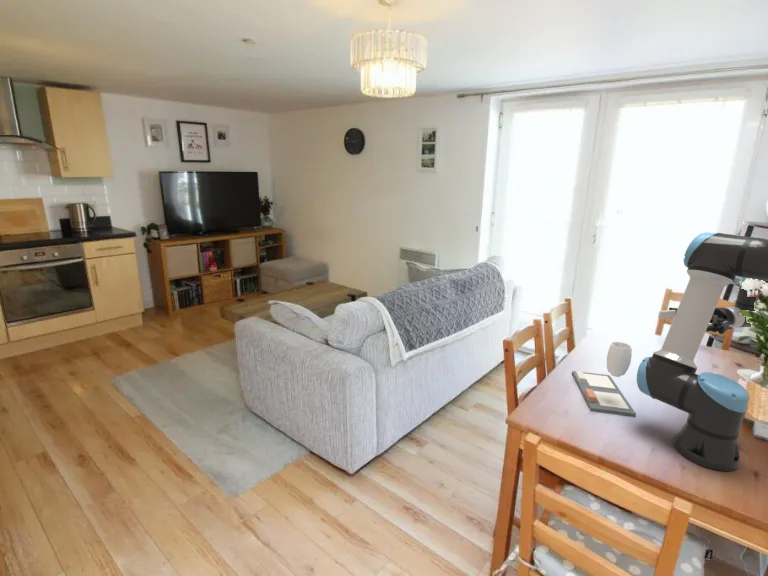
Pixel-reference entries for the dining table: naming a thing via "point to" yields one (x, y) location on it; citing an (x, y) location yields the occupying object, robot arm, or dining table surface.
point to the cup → (618, 358)
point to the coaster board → (602, 394)
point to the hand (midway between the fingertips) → (676, 321)
